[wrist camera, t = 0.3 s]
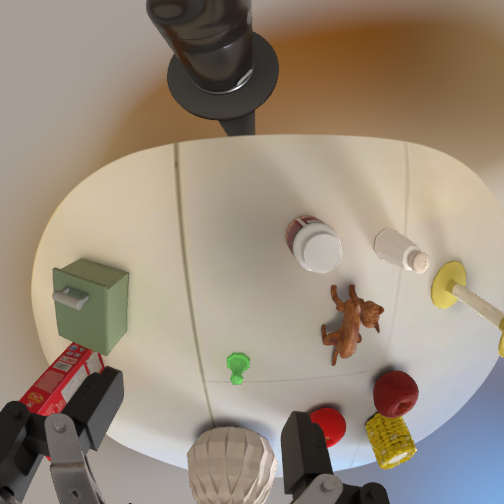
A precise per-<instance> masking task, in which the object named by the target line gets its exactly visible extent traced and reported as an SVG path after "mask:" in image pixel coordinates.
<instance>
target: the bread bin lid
mask: <svg viewBox="0 0 504 504" xmlns="http://www.w3.org/2000/svg"><path fill="white" fill-rule="evenodd" d="M53 286H54V292H53V295H52V297H53V300H55V310H56V318H57V326H58V333H59V336H62V337H64V338H66V339H68V340H70V341H72V342H75V343H77V344H79V345H81V346H84V347H86V348H88V349H91V350H93V351H96V352H98V353H100V354H103V355H106V356H107V355H108V354H109V348H108V327H107V285H104V284H101V283H98V282H95V281H92V280H89V279H86V278H83V277H81V276H78V275H75V274H72V273H69V272H66V271H64V270H61V269H58V268H56V267H55V268H53Z"/></svg>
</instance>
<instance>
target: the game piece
mask: <svg viewBox="0 0 504 504" xmlns="http://www.w3.org/2000/svg"><path fill="white" fill-rule="evenodd" d="M227 367H228V368H229V369H231V371H232V376H231V378H230V380H231V382H232V383H233V385H237V384H242V381H243V377H242V375H241V374H242V373H243V372H244V371H245V370H247V369H248V368H249V358H248V357H247V356H246V355H245V354H243V353H233V354H232V355H230V356H229V357H228V358H227Z"/></svg>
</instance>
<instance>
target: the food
mask: <svg viewBox="0 0 504 504" xmlns="http://www.w3.org/2000/svg"><path fill="white" fill-rule="evenodd" d="M405 424H406V423H404V421H403V419H402V416H400V417H396V418H387V417H384V416H382V415H381V414H380V413H378V414H376V415H375V416H374V418H372V419H370V420H369V421H368V422H367V425H366V426H365V428H366V429H367V430H366V431H367V433H368V438H369V440H370V443H371V445H372V449H373V451H374V453H375V457H376V459H377V461H378V464H379V466H380V468H381V469H385V470H386V469H388V468H393V467H394V466H398V465H399V464H400V463H404V462H405V461H407V460H410V458H411V457H413V456H414V453H415V452H416V446H415V445H414V441H413V440H412V437H411V435H410V432H409V430H408V429H407V426H406V425H405Z"/></svg>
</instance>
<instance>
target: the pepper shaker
mask: <svg viewBox="0 0 504 504" xmlns="http://www.w3.org/2000/svg"><path fill="white" fill-rule="evenodd" d="M374 250H375V252H376V254H377V255H378V257H379V258H380V259H382V260H384V261H386V262H389V263H391V264H393V265H396V266H398V267H400V268H403V269H406V270H414V271H415V272H416V273H423V272H424V271H425V270H426V269H427V268H428V266H429V257H428V255H427V254H425V253H422V252H421V250H420V248H419V247H418V246H417V245H416V244H415V243H413V242H412V241H410V240H409V239H407V238H406V237H405V236H403V235H402V234H400V233H399V232H397V231H396V230H390V229H384V230H383V231H382V232H381V233H380V234H378V235H377V236H376V239H375V245H374Z"/></svg>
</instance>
